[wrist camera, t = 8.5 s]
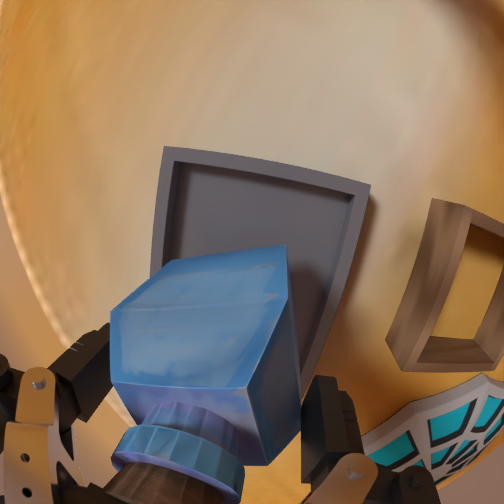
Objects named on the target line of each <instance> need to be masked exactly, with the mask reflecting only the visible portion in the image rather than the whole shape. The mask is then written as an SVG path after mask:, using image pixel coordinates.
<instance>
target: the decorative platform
mask: <svg viewBox="0 0 504 504" xmlns="http://www.w3.org/2000/svg"><path fill="white" fill-rule="evenodd" d="M503 427H504V382H500V381H496V380H493V379H491V378H490V377H488V376H486V375H485V374H483V373H481V374H479V375H477V376H475V377H474V378H472V379H470V380H468V381H466V382H464V383H462V384H460V385H458V386H456V387H454V388H452V389H450V390H447V391H445V392H442V393H439V394H437V395H434V396H431V397H427V398H424V399H421V400H417V401H413V402H410V403H408V404H407V405H406V406H405V407H404V408H402V409H401V410H400V411H399V412H397V413H396V414H395V415H393V416H392V417H391V418H389V419H388V420H387V421H385V422H384V423H382V424H381V425H379V426H378V427H376V428H375V429H373V430H372V431H370V432H368V433H366V434H365V435H363V436H361V439H362V444H363V449H364V453H365V455H366V456H368V457H370V458H371V459H372V460H373V461H374V462H375V464H376V466H377V467H378V468H380V469H384V470H389V471H394V472H400V473H401V472H402V471H403V470H404V469H405V468H407V467H409V466H412V465H419V466H422V467H424V468H426V469H427V470H429V472H430V473H431V474H432V477H433V479H434V483H435V486H436V485H438V484H440V483H441V482H443V481H444V480H446V479H447V478H449V477H451V476H452V475H454V474H455V473H457V472H459V471H461V470H462V469H464V468H465V467H467V466H468V465H470V464H471V463H472V462H473V461H474V460H475V459H476V458H477V457H478V456H479V455H480V454H481V453H482V451H483V450H484V449H485V448H486V447H487V446H488V445H489V443H490V442H491V441H492V440H493V439H494V438H495V437H496V435H497V434H498V433H499V432H500V431H501V430H502V429H503Z"/></svg>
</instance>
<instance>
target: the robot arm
mask: <svg viewBox="0 0 504 504" xmlns="http://www.w3.org/2000/svg"><path fill="white" fill-rule="evenodd" d="M112 387H113V384H112V382H111V373H110V323H106V324H105V325H104V326H103V327H102V328H100V329H99V330H98V331H96V330H93V331H91V332H88V333H86V334H84V335H83V336H82V337H81V338H79V339H78V340H77V341H76V343H74V344H73V345H72V346H71V347H70V349H67V350H66V351H65V352H64V353H63V354H62V355H61V356H60V357H59V358H58V359H57V360H56V361H55V362H53V363H52V364H51V365H50V366H49V367H48V368H47V369H46V368H43V367H35V368H31V369H29V370H28V371H26V372H22V371H19V370H16V369H13V368H10V365H9V363H8V360H7V358H6V357H5V356H3V355H2V354H0V454H1V452H2V451H3V450H4V459H3V478H4V495H2V496H0V504H129V503H126V502H124V501H122V500H120V499H117V498H115V497H113V496H111V495H109V494H107V493H105V491H106V490H105V489H103V488H100V487H99V486H97V485H95V484H93V483H90V484H89V486H88V487H85V483H84V480H83V477H82V474H81V472H80V469H79V465H78V459H77V451H76V441H75V429H74V424H73V422H74V421H75V420H76V418H78V419H80V420H82V421H84V422H85V423H87V421H88V420H89V419H90V417H91V416H92V414H93V413H94V412H95V410H96V409H97V408H98V406H99V405H100V403H101V402H102V401H103V399H104V398H105V397H106V395H107V394H108V393H109V391H110V390H111V388H112ZM301 483H309V484H311V491H310V492H309V493H308V495H307V496H306V497H305V498H304V499H303V500H302V501H301V503H300V504H441V503H440V499H439V496H438V492H437V489H436V486H435V483H434V479H433V477H432V474H431V473H430V472H429V470H427V469H426V468H424V467H422V466H419V465H412V466H409V467H407V468H405V469H404V470H403V471H402V472H401V473H400V472H394V471H389V470H384V469H380V468H378V467H377V466H376V464H375V462H374V461H373V460H372V459H371V458H370V457H368V456H366V455H365V453H364V449H363V444H362V439H361V435H360V430H359V426H358V422H357V417H356V413H355V408H354V404H353V401H352V399H351V398H350V397H349V395H348V394H347V392H346V391H338V386H337V381H336V378H335V377H329V376H321V375H316V376H315V377H314V378H313V381H312V383H311V385H310V388H309V390H308V392H307V394H306V396H305V399H304V401H303V404H302V407H301Z"/></svg>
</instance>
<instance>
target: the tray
mask: <svg viewBox="0 0 504 504" xmlns="http://www.w3.org/2000/svg"><path fill="white" fill-rule="evenodd" d="M370 188H371V185H369V184H366V183H362V182H359V181H355V180H351V179H348V178H344V177H340V176H336V175H332V174H328V173H324V172H320V171H316V170H311V169H307V168H302V167H298V166H293V165H288V164H283V163H278V162H273V161H268V160H263V159H257V158H251V157H245V156H239V155H233V154H226V153H219V152H212V151H205V150H197V149H188V148H179V147H169V146H164V149H163V155H162V161H161V168H160V174H159V182H158V189H157V197H156V205H155V215H154V225H153V236H152V249H151V264H150V277H151V276H153V275H154V274H155V273H156V272H158V271H159V270H160V269H161V268H162V267H164V266H165V265H166V264H167V263H169V262H170V261H171V260H175V259H182V258H190V257H197V256H204V255H212V254H219V253H226V252H234V251H241V250H249V249H256V248H263V247H271V246H278V245H286V250H287V257H288V265H289V272H290V280H291V288H292V296H293V304H294V313H295V322H296V330H297V340H298V351H299V368H300V387H301V399H302V397H303V395H304V393H305V390H306V388H307V386H308V383H309V381H310V379H311V376H312V374H313V372H314V369H315V367H316V364H317V362H318V359H319V357H320V354H321V352H322V349H323V347H324V344H325V341H326V339H327V336H328V333H329V331H330V328H331V325H332V322H333V319H334V317H335V314H336V311H337V308H338V305H339V302H340V299H341V296H342V293H343V290H344V287H345V283H346V280H347V277H348V274H349V270H350V267H351V264H352V260H353V257H354V253H355V249H356V246H357V242H358V238H359V234H360V231H361V227H362V223H363V219H364V214H365V210H366V206H367V202H368V197H369V192H370Z"/></svg>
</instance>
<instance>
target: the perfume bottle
mask: <svg viewBox="0 0 504 504" xmlns="http://www.w3.org/2000/svg"><path fill="white" fill-rule="evenodd" d="M110 373H111V382H112V384H113V386H114V388H115V389H116V391H117V393H118V395H119V396H120V398H121V400H122V402H123V403H124V405H125V407H126V408H127V410H128V411H129V413H130V415H131V416H132V418H133V419H134V421H135V422H136V424H137V426H134V427H130V428H129V429H128V430H127V431H126V432H125V433H124V435H123V437H122V438H121V440H120V442H119V444H118V446H117V447H116V449H115V451H114V453H113V454H112V456H111V461H112V465H113V466H114V467H115V469H116V470H117V471H118V473H117V474H116V475H115V476H114V477H113V478H112V479H111V480H110V481H109V482H108V484H107V485H106V486H105V487H104V488H103V489H105V490H106V491H105V493H107V494H109V495H111V496H113V497H115V498H117V499H120V500H122V501H124V502H126V503H129V504H239V503H240V502H241V496H242V490H243V484H244V478H245V469H244V466H268V465H269V464H270V463H271V462H272V461H273V460H274V459H275V458H276V457H277V456H278V455H279V454H280V453H281V452H282V450H283V449H284V448H285V447H286V446H287V445H288V444H289V443H290V442H291V441H292V439H293V438H294V437H295V436H296V435H297V434H298V433H299V431H300V430H301V387H300V368H299V351H298V340H297V330H296V322H295V313H294V304H293V296H292V288H291V280H290V272H289V265H288V257H287V250H286V245H278V246H271V247H263V248H256V249H249V250H241V251H234V252H226V253H219V254H212V255H204V256H197V257H190V258H182V259H175V260H171V261H170V262H169V263H167V264H166V265H165V266H164V267H162V268H161V269H160V270H159V271H158V272H156V273H155V274H154V275H153V276H151V277H150V278H149V279H148V280H147V281H145V282H144V283H143V284H142V285H141V286H139V287H138V288H137V289H136V290H135V291H134V292H132V293H131V294H130V295H129V296H128V297H127V298H125V299H124V300H123V301H122V302H121V303H120V304H118V305H117V306H116V307H115V308H114V309H113V310H111V313H110Z"/></svg>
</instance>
